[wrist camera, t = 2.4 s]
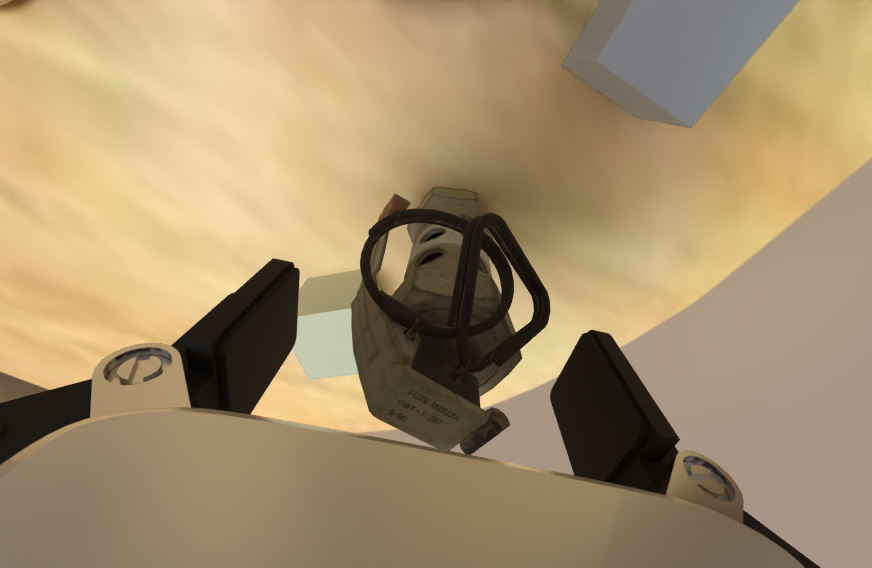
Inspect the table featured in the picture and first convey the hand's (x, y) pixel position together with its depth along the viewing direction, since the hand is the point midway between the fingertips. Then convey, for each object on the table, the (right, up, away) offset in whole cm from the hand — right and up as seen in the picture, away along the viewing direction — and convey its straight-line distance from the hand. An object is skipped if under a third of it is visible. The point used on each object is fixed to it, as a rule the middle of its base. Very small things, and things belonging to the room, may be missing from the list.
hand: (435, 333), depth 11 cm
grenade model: (+1, +7, +10) cm, 12 cm away
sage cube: (-6, 0, +14) cm, 15 cm away
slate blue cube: (+10, +13, +6) cm, 18 cm away
